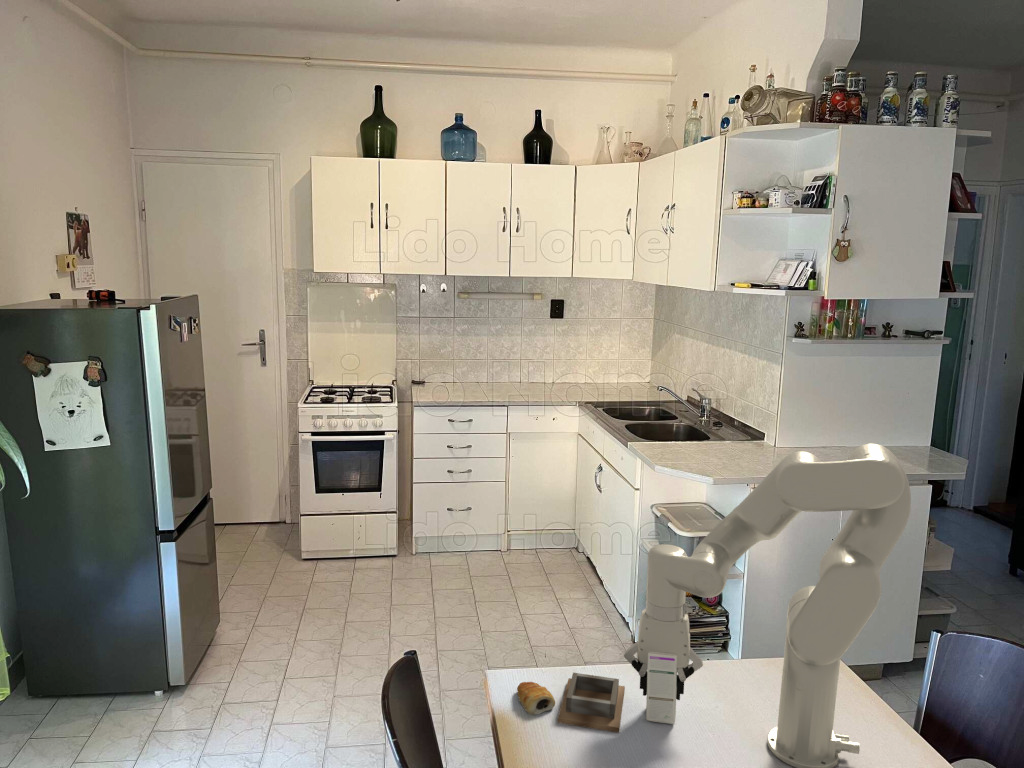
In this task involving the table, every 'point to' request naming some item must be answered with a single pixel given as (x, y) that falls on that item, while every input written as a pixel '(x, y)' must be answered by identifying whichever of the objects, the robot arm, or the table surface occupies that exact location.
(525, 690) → the pastry
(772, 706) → the table surface
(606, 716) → the socket stand
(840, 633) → the robot arm
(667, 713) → the syrup box
